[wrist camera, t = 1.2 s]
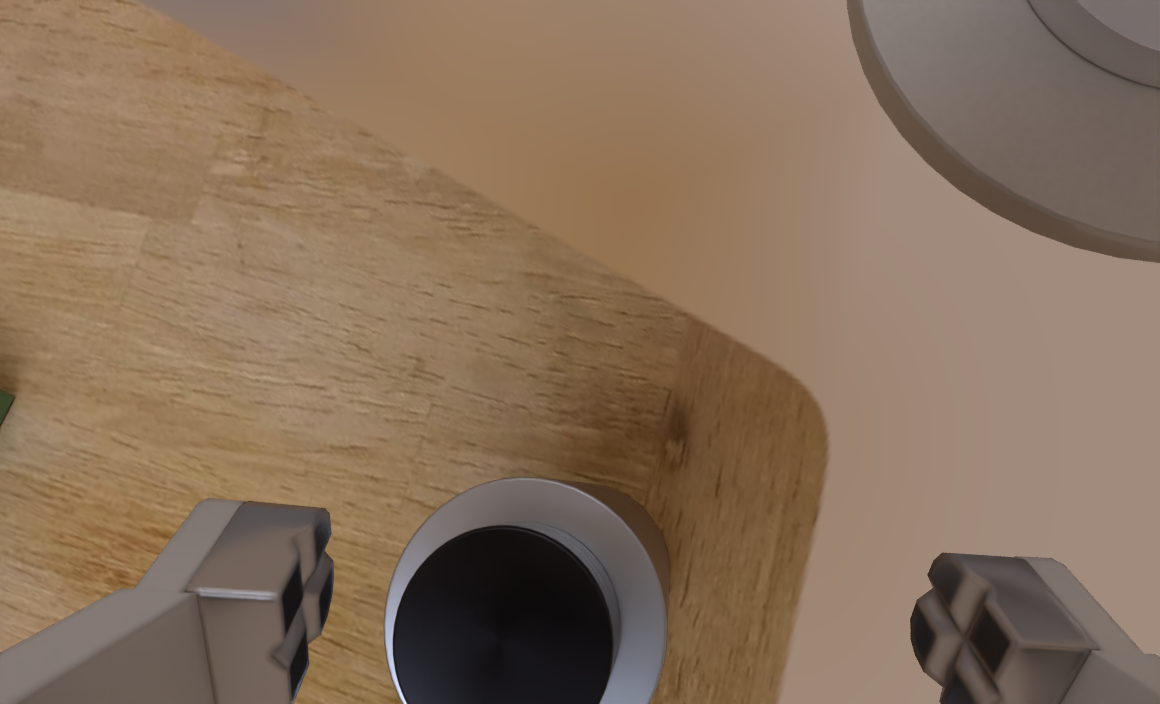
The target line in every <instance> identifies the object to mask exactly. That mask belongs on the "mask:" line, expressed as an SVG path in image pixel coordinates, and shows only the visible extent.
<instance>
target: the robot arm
mask: <svg viewBox="0 0 1160 704" xmlns="http://www.w3.org/2000/svg"><path fill="white" fill-rule="evenodd" d="M1028 1H1029V3H1030V5H1031V6H1032V8H1033V9H1034V11H1035V12H1036V14H1037V15H1038V16H1039V18H1040V19H1041V20H1042V21H1043V23H1044V24H1045V25H1046V26H1047V27H1048V28H1049V29H1050V30H1051V31H1052V33H1053V34H1054V35H1055V36H1056V37H1058V38H1059V39H1060V40H1061V41H1062V42H1063V43H1064V44H1065V45H1067V46H1068V47H1069V48H1071V49H1072V50H1073V51H1075V52H1076V53H1077V54H1079V55H1080V56H1082V57H1083V58H1085V59H1086V60H1088V61H1090V62H1092V63H1093V64H1095V65H1097V66H1099V67H1101V68H1103V69H1105V70H1107V71H1109V72H1111V73H1113V74H1116V75H1118V76H1120V77H1123V78H1126V79H1128V80H1131V81H1134V82H1137V83H1141V84H1144V85H1148V86H1152V87H1157V88H1160V0H1028ZM331 534H332V533H331V523H330V513H329V512H328V511H327V510H326V509H325V508H318V507H307V506H297V505H286V504H276V503H265V502H254V501H247V502H245V501H238V500H226V499H215V498H207V499H205V500H203V501H201V502H199V503H198V504H197V505H196V506H195V508H194V509H193V510H192V512H191V513H190V514H189V516H188V517H187V518H186V520H185V521H184V522H183V524H182V525H181V526H180V528H179V529H178V530H177V532H176V533H175V534H174V536H173V537H172V538H171V540H170V541H169V542H168V544H167V545H166V546H165V548H164V549H163V550H162V552H161V553H160V554H159V556H158V557H157V558H156V560H155V561H154V562H153V564H152V565H151V566H150V568H149V569H148V570H147V572H146V573H145V574H144V576H143V577H142V578H141V580H140V581H139V582H138V584H137V585H136V586H135V588H134V589H122V588H120V589H119V590H117V591H115V592H113V593H111V594H109V595H107V596H105V597H104V598H102V599H100V600H98V601H96V602H94V603H92V604H90V605H89V606H87V607H85V608H83V609H81V610H79V611H77V612H76V613H74V614H72V615H70V616H68V617H66V618H64V619H62V620H61V621H59V622H57V623H55V624H53V625H51V626H49V627H47V628H46V629H44V630H42V631H40V632H38V633H36V634H34V635H33V636H31V637H29V638H27V639H25V640H23V641H21V642H19V643H18V644H16V645H14V646H12V647H10V648H8V649H6V650H4V651H3V652H1V653H0V704H293V703H294V701H295V698H296V696H297V693H298V691H299V688H300V686H301V683H302V681H303V678H304V676H305V673H306V671H307V668H308V666H309V656H308V644H309V643H310V642H312V641H313V640H314V639H316V638H317V637H318V636H320V635H321V632H322V630H323V627H324V624H325V622H326V619H327V616H328V612H329V607H330V603H331V598H332V594H333V580H334V567H333V560H332V559H331V558H330V556H329V555H328V554H327V553H326V552H325V551H324V550H325V548H326V545H327V543H328V541H329V538H330V536H331ZM928 577H929V580H930V582H931V584H932V586H933V588H932V589H931V590H930V591H928V592H927V593H926V594H924V595H923V596H922V597H920V598H919V599H918V600H917V602H916V605H915V607H914V610H913V613H912V616H911V619H910V623H911V642H912V646H913V649H914V653H915V656H916V658H917V660H918V662H919V664H920V666H921V667H922V670H923V672H925V673H926V674H927V675H928V676H930V677H931V678H932V679H934V680H935V681H936V682H937V683H938V684H940V685H941V686H942V687H943V688H942V692H941V697H940V703H941V704H1160V657H1159V656H1157V655H1155V654H1144V653H1143V652H1142V651H1141V650H1140V649H1139V648H1138V646H1137V645H1136V644H1135V643H1134V642H1133V641H1132V640H1131V639H1130V638H1129V636H1128V635H1127V634H1126V633H1125V632H1124V631H1123V630H1122V629H1121V628H1120V627H1119V626H1118V624H1117V623H1116V622H1115V621H1114V620H1113V619H1112V617H1111V616H1110V615H1109V614H1108V613H1107V612H1106V611H1105V610H1104V609H1103V607H1102V606H1101V605H1100V604H1099V603H1098V602H1097V601H1096V600H1095V599H1094V597H1093V596H1091V594H1090V593H1089V592H1088V591H1087V590H1086V589H1085V588H1084V586H1083V585H1082V584H1081V583H1080V582H1079V581H1078V580H1077V579H1076V577H1075V576H1074V575H1073V574H1072V573H1071V572H1070V571H1069V570H1068V569H1067V567H1066V566H1065V565H1063V564H1062V563H1059V562H1058V561H1056V560H1054V559H1052V558H1038V557H1017V556H1015V557H1001V556H987V555H971V554H956V553H941V554H940V555H939V556H938V557H937V558H936V559H935V560H934V561H933V563H932V565H931V568H930V570H929V572H928Z"/></svg>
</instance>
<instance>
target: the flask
mask: <svg viewBox="0 0 1160 704" xmlns="http://www.w3.org/2000/svg"><path fill="white" fill-rule="evenodd" d="M669 580H670V566H669V557H668V552H667V548H666V544H665V542H664V539H663V536H662V534H661V532H660V530H659V528H658V526H657V525H656V523H655V522H654V520H653V519H652V517H651V516H650V515H649V514H648V513H647V511H646V510H645V509H644V508H643V507H642V506H641V505H639V504H638V503H637V502H636V501H635V500H633V499H632V498H630V497H629V496H627V495H626V494H624V493H622V492H619V491H617V490H615V489H612V488H609V487H606V486H601V485H596V484H588V483H580V482H572V481H564V480H556V479H548V478H539V477H512V478H503V479H499V480H494V481H490V482H486V483H483V484H481V485H478V486H475V487H472V488H470V489H468V490H466V491H464V492H462V493H460V494H458V495H457V496H455V497H453V498H452V499H450V500H449V501H448V502H446V503H445V504H443V505H442V506H440V507H439V508H438V509H437V510H436V511H435V512H434V513H433V514H432V515H431V516H429V517H428V518H427V519H426V520H425V522H424V523H423V524H422V525H421V526H420V527H419V529H418V530H417V531H416V532H415V533H414V535H413V536H412V538H411V539H410V541H409V543H408V544H407V546H406V547H405V549H404V551H403V553H402V555H401V557H400V559H399V561H398V563H397V565H396V567H395V570H394V573H393V576H392V579H391V581H390V585H389V589H388V594H387V598H386V603H385V613H384V645H385V652H386V659H387V664H388V668H389V671H390V675H391V679H392V682H393V684H394V687H395V689H396V692H397V694H398V697H399V699H400V701H401V703H402V704H650V702H651V700H652V698H653V695H654V693H655V691H656V689H657V686H658V683H659V680H660V676H661V673H662V669H663V666H664V660H665V654H666V647H667V628H668V604H669Z"/></svg>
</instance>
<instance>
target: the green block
mask: <svg viewBox="0 0 1160 704" xmlns="http://www.w3.org/2000/svg"><path fill="white" fill-rule="evenodd" d="M13 399H14V396H12V395H10V394H8V393H6V392H4V391H2V390H0V424H1V422H2V420H3V418H4V416H5V414H6V412H7V410H8V409H9V407H10V405H11V403H12V401H13Z"/></svg>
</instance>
